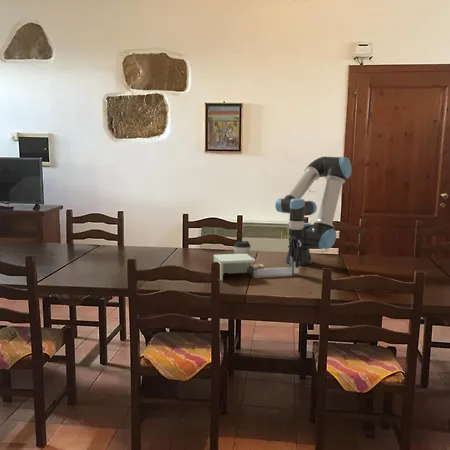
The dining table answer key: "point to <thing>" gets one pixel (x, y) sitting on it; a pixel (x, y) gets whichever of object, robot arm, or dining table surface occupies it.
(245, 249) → the coffee cup
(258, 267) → the block
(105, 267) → the dining table surface
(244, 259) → the shelf nook
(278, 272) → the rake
